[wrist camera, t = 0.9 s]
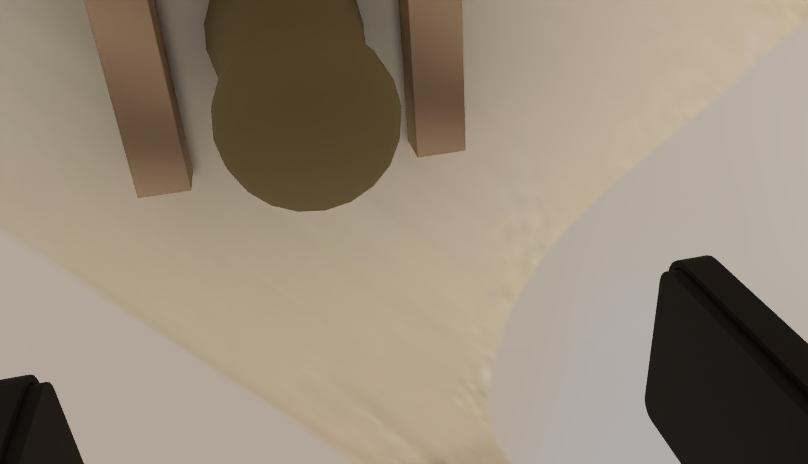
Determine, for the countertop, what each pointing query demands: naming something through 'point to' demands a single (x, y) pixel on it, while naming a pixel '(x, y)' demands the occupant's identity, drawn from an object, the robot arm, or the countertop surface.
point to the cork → (300, 101)
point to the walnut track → (159, 114)
